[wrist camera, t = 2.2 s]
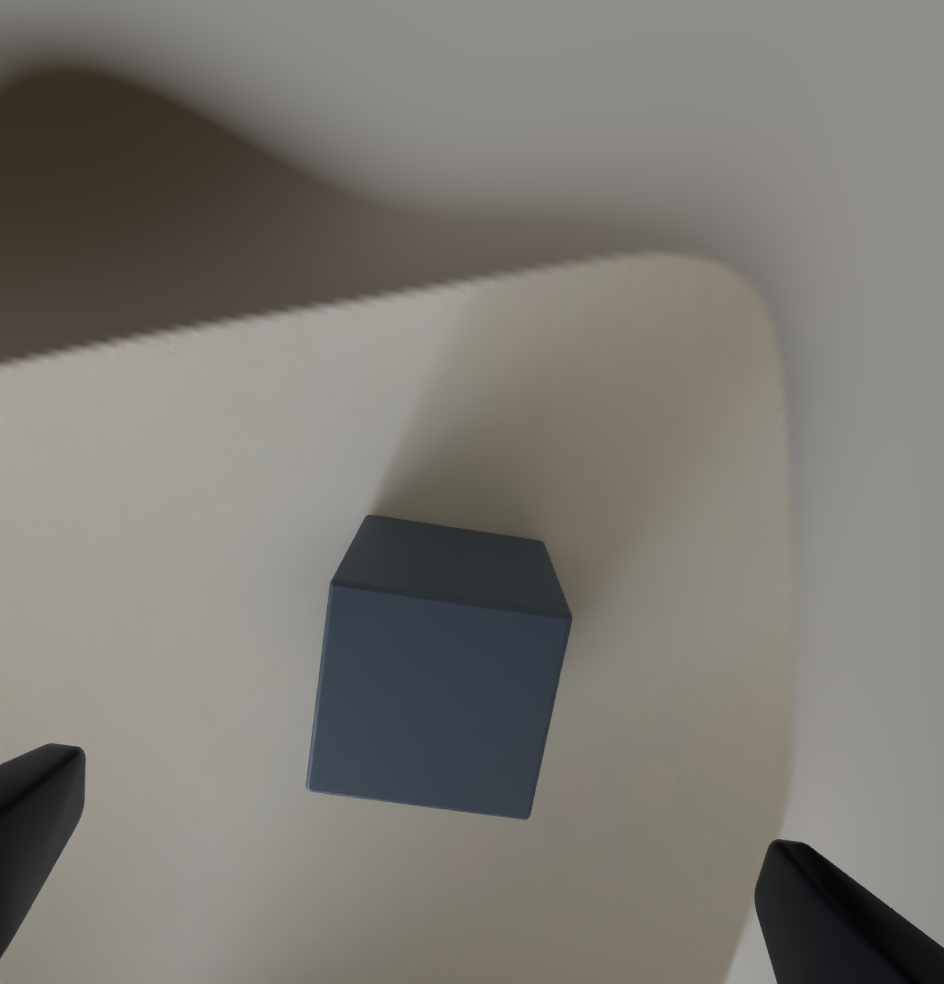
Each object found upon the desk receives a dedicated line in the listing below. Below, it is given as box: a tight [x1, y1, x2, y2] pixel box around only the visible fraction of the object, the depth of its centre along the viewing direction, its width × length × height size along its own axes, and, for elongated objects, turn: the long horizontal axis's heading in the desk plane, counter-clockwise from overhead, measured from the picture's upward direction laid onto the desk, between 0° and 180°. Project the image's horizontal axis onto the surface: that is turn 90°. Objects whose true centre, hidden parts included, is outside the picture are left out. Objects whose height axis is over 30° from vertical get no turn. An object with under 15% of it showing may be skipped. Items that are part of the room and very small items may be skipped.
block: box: [306, 515, 572, 820], centre depth 13 cm, size 4×4×4 cm
